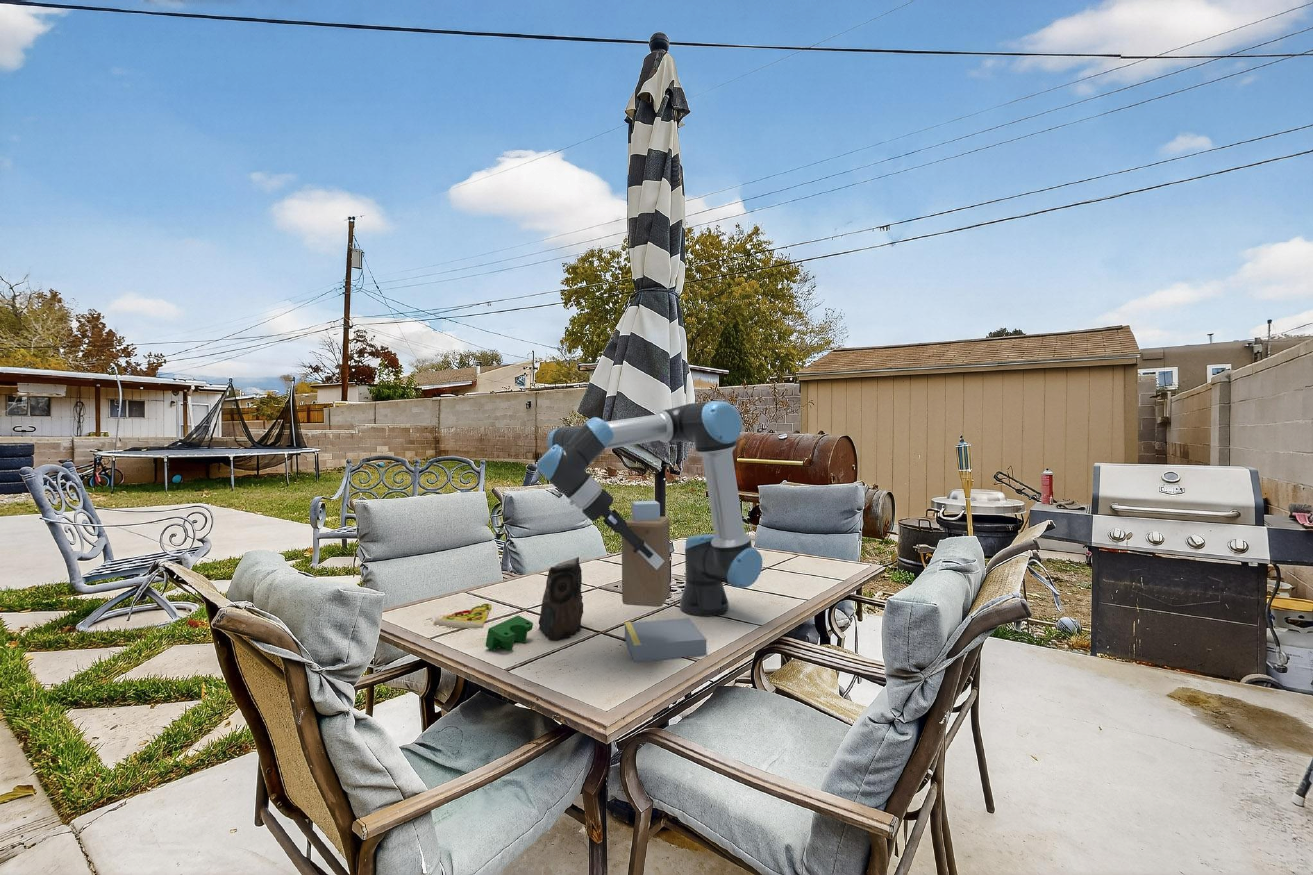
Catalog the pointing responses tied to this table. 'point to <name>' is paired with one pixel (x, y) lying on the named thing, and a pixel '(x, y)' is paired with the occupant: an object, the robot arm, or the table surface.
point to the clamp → (508, 633)
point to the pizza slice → (466, 618)
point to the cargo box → (645, 510)
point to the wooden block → (646, 565)
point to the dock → (664, 639)
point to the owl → (562, 601)
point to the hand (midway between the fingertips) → (654, 558)
